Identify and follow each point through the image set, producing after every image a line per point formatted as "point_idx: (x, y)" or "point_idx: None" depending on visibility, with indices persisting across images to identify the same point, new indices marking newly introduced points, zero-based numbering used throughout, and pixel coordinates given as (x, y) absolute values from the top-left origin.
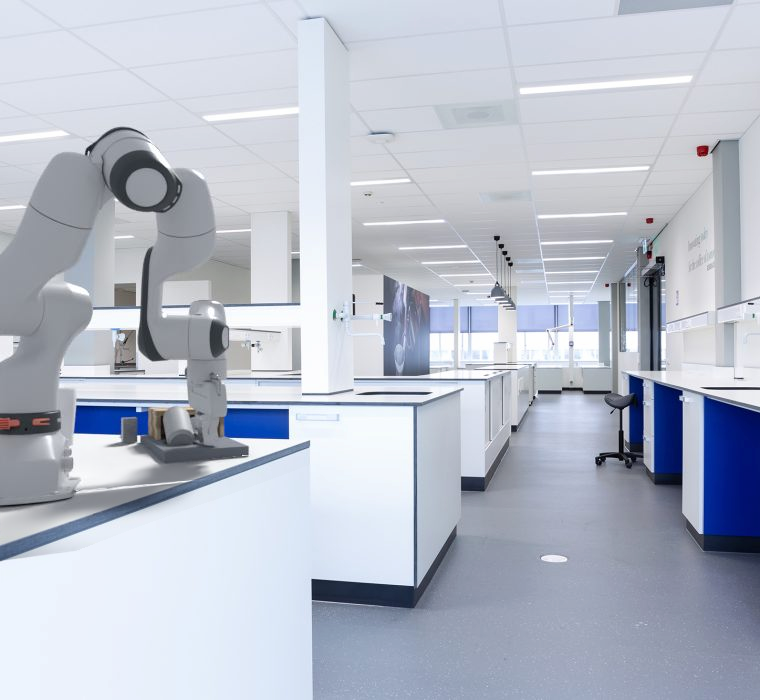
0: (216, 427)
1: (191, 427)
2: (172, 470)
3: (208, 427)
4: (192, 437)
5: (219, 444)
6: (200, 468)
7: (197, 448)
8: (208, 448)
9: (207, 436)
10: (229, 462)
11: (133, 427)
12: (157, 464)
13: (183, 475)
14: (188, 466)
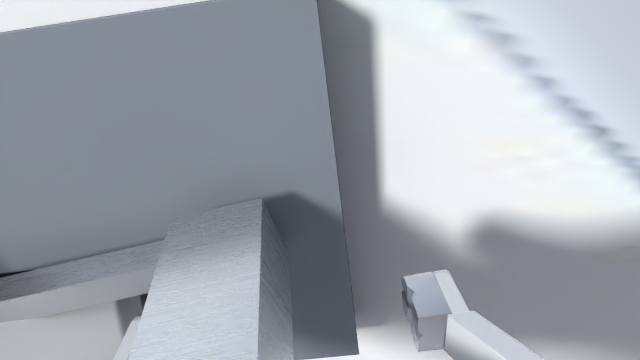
0: (470, 313)
1: (39, 355)
2: (512, 304)
3: (440, 347)
4: (130, 306)
5: (177, 169)
6: (535, 238)
7: (314, 269)
8: (333, 231)
9: (283, 277)
10: (458, 124)
11: None
12: (371, 330)
13: (627, 285)
14: (464, 266)
